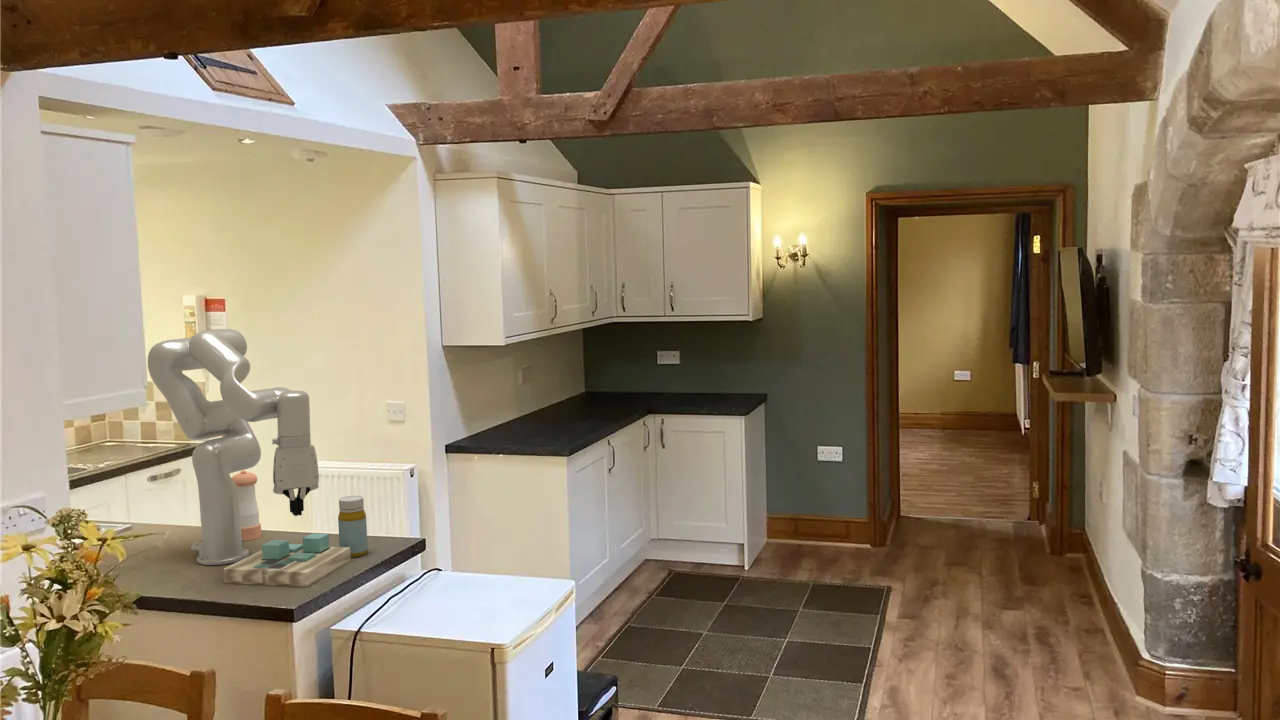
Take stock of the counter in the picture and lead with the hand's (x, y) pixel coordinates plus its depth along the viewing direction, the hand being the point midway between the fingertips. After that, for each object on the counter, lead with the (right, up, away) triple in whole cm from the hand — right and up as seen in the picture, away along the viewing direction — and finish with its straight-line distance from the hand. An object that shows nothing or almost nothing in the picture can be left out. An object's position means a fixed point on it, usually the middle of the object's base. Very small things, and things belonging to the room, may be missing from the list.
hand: (296, 514), depth 247 cm
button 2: (-4, -13, +9) cm, 17 cm away
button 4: (+2, -10, +8) cm, 13 cm away
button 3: (+1, -14, +1) cm, 14 cm away
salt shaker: (-26, -12, +35) cm, 45 cm away
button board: (-2, -15, +2) cm, 15 cm away
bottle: (+10, -13, +15) cm, 22 cm away
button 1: (-6, -11, +2) cm, 13 cm away
